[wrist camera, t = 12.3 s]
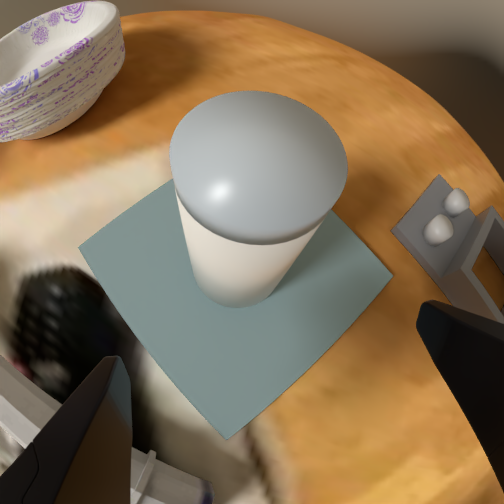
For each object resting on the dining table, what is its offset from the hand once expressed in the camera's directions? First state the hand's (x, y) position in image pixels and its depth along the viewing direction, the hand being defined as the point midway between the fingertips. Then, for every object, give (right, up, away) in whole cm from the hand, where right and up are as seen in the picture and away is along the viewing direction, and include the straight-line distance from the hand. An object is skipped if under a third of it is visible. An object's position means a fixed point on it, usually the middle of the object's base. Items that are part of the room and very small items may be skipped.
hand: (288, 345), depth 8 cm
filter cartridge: (-2, +2, +9) cm, 10 cm away
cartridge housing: (+16, +2, +12) cm, 20 cm away
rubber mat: (-2, +2, +10) cm, 10 cm away
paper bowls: (-19, +16, +14) cm, 29 cm away
